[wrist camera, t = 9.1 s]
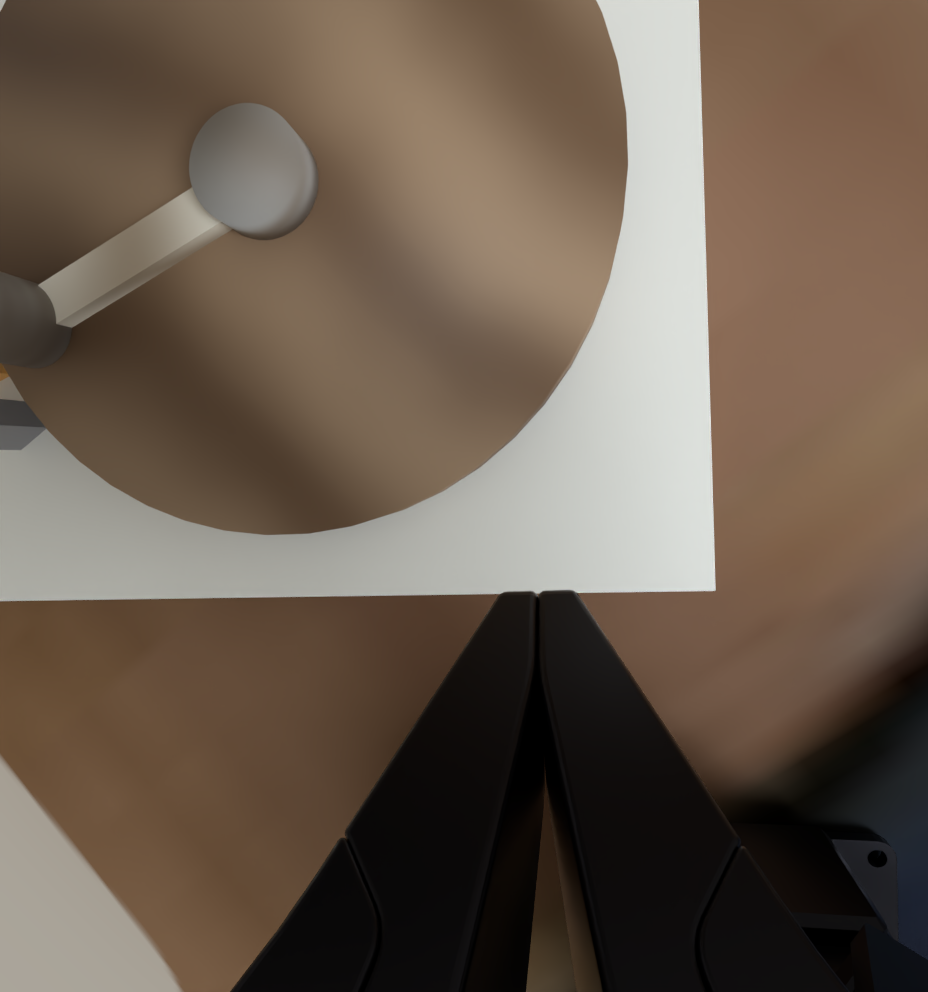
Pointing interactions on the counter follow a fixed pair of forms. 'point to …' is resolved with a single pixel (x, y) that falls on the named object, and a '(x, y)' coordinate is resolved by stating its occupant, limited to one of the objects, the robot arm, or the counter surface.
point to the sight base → (502, 479)
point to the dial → (301, 240)
